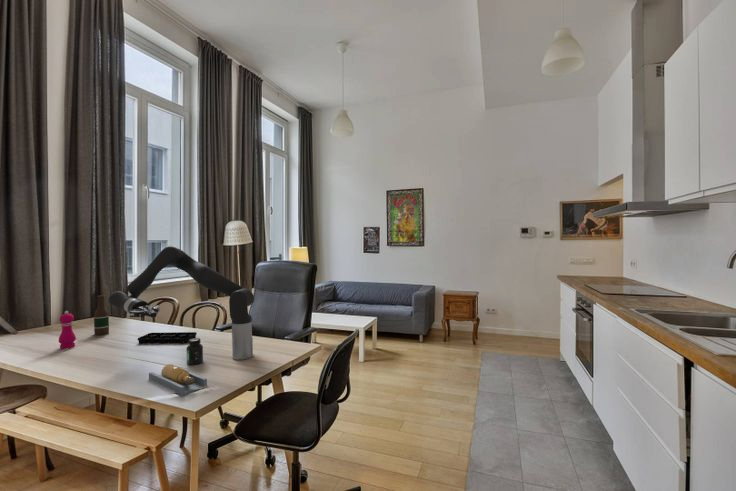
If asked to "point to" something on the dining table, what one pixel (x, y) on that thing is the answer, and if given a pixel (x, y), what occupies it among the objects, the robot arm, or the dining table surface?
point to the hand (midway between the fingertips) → (154, 315)
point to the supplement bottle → (194, 352)
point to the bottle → (177, 374)
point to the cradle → (180, 388)
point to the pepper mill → (67, 331)
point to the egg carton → (167, 338)
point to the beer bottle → (101, 318)
